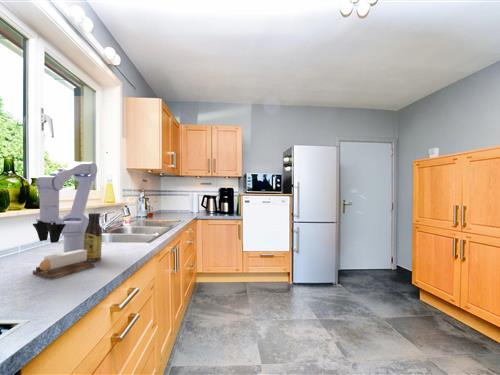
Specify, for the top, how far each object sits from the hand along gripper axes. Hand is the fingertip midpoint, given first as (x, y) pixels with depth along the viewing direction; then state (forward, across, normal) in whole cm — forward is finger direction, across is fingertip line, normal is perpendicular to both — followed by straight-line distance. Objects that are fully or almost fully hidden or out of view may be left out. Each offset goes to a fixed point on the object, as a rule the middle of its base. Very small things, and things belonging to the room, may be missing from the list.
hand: (48, 241), depth 91 cm
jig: (+9, +11, 0) cm, 14 cm away
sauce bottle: (+10, +8, +12) cm, 17 cm away
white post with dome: (+8, +11, 0) cm, 14 cm away
